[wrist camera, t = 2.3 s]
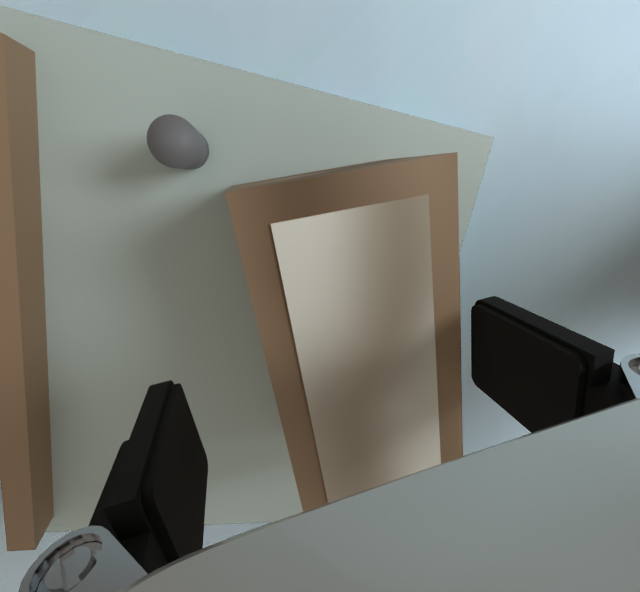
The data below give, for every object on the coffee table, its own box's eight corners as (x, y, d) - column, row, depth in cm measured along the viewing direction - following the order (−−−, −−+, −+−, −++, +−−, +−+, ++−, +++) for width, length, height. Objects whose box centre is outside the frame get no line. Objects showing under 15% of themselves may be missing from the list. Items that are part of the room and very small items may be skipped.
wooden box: (380, 159, 14) (459, 152, 9) (402, 402, 18) (464, 491, 13) (231, 185, 13) (225, 192, 8) (290, 433, 18) (310, 540, 12)
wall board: (476, 140, 16) (551, 129, 12) (371, 499, 22) (399, 569, 18) (7, 17, 12) (-114, -63, 8) (36, 510, 18) (-23, 606, 14)
